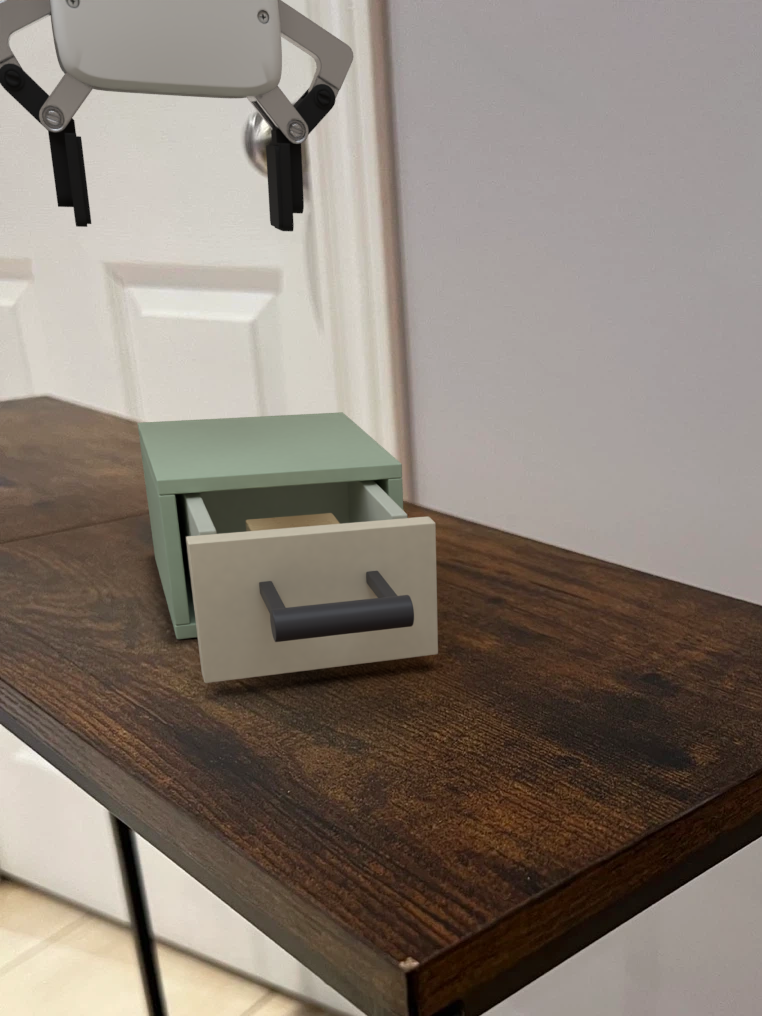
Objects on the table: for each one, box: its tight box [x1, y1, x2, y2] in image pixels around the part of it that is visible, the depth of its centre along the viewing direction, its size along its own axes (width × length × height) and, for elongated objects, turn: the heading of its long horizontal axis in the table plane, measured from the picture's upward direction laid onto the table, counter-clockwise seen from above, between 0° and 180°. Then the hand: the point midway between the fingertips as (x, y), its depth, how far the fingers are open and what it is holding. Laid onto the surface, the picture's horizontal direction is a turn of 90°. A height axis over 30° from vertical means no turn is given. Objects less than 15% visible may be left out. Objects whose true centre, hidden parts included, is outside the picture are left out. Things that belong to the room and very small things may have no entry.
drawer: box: [179, 480, 439, 684], centre depth 57 cm, size 19×11×7 cm, turn 21°
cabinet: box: [137, 412, 404, 640], centre depth 67 cm, size 15×13×9 cm
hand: (185, 227), depth 58 cm, fingers open, 9 cm apart
